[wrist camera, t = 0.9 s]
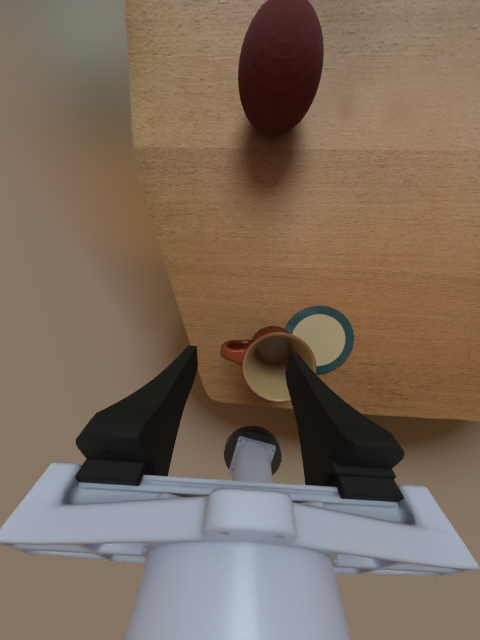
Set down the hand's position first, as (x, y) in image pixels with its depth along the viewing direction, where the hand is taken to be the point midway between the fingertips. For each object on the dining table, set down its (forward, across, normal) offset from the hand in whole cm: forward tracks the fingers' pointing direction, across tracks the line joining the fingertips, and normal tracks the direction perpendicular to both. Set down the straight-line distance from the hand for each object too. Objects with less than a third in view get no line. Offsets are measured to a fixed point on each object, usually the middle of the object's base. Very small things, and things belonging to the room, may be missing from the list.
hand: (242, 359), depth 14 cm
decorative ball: (+29, -2, -22) cm, 36 cm away
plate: (+15, -14, +8) cm, 22 cm away
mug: (+15, -4, +10) cm, 18 cm away
